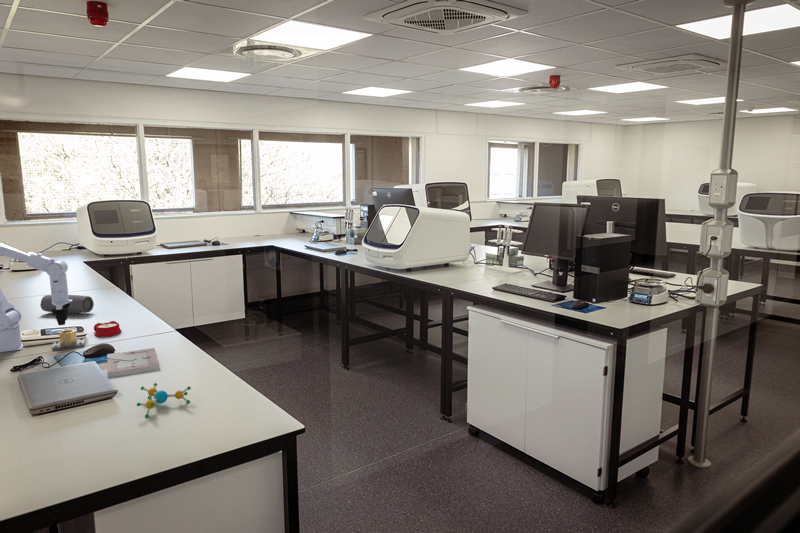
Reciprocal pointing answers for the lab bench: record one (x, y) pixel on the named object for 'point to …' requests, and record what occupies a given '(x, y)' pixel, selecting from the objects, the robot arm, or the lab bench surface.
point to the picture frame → (132, 362)
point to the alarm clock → (107, 329)
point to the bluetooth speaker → (76, 306)
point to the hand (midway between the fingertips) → (62, 322)
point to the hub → (68, 337)
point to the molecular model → (161, 397)
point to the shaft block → (58, 347)
